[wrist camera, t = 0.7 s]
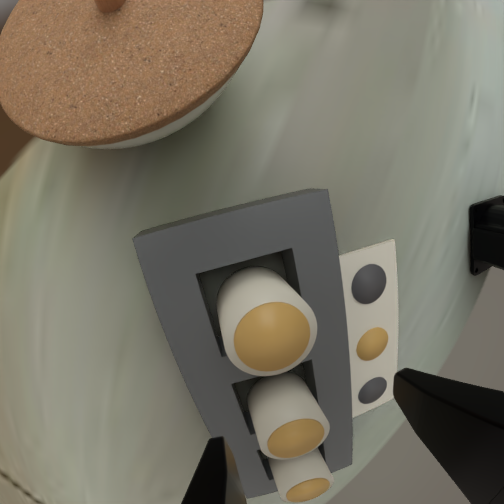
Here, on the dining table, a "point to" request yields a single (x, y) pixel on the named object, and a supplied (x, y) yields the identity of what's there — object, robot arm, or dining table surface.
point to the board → (211, 346)
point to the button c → (301, 477)
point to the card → (371, 322)
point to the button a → (264, 322)
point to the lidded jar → (119, 66)
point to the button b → (286, 416)
